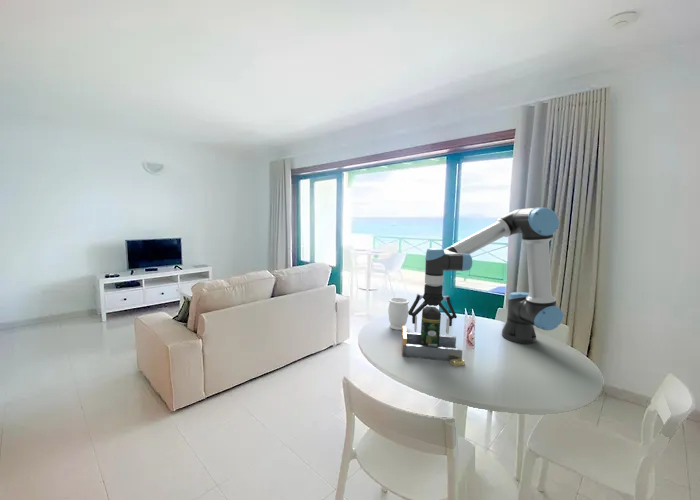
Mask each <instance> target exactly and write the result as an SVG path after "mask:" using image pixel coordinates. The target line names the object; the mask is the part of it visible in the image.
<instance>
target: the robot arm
mask: <svg viewBox="0 0 700 500" xmlns="http://www.w3.org/2000/svg"><path fill="white" fill-rule="evenodd" d="M559 226H560V220H559V216H558V214H557V213H556V212H555V211H554V210H552V208H549V207H541V206H540V207H539V206H538V207H522V208H518V209H517V208H516V209H515V210H513V211H510V212H509V213H507V214H504V215H503V216H501V217H499V218H497V219H496V220H495V223H492V224H490V225H489V226H486V227H485V228H482V229H481V230H479V231H477V232H475V233H473V234H471V235H469V236H467V237H465V238H463V239H462V240H460V241H458V242H455V243H454V244H452V245H450V246H448V247H446V248H441V247H440V248H439V247H438V248H437V247H436V248H435V247H430V248H427V249H426V253H425V268H424V270H425V271H424V272H425V273H424V288H423V289H424V290H423V292H424V293H423V294H420V293H417V294H416V298H415V299H414V301H413V303H412V304H411V307H410V308H409V312H408V316H412V317H411V323H412V324H414V327H413V328H414V333H417V331H418V330H417V328H418V327H417V326H418V325H417V324H418V316H417V315H419V313H420V312H421V311H422V310H423V308H425V307H427V306H428V307H438V306H439V308H440V309H441V310H442V311H443V312H444V314H445V315H446V321H445V322H446V323H445V325H446V326H445V333H446V335H449V334H450V327H452V325H453V319H457V314H456V312H455V310H454V307H453V306H452V303H451V297H450V296H449V295H448V294H447V295H443V290H444V289H443V287H444V286H443V283H444V272H446V271H447V272H448V271H451V272H455V271H456V272H458V271H459V272H464V271H465V272H466V271H467V272H468V271H469V270H471V269H472V267H473V258H472V255H471V254H473V253H475V252H477V251H479V250H481V249H482V248H484V247H486V246H488V245H490V244H492V243H495V242H496V241H498V240H500V239H502V238H503V237H504V238H508V237H510V236H512V235H516V234H521V239H522V241H523V242H525V245H526V257H527V258H526V259H527V260H526V263H527V277H528V292H525V291H524V292H523V291H514V292H513V291H511V292H510V293H509V295H508V300H507V301H508V302H507V303H508V304H507V315H506V322H505V324H504V326H503V328H502V330H501V336H502V337H503V338H505V339H506V340H508V341H511V342H515V343H518V344H526V345H528V344H535V343H536V342H537V333H536V330H535V327H536V329H541V330H542V331H553V330H555V329H556V328H558V327H559V326H560V325H561V324H562V322H563V319H564V313H563V310H562V308H561V307H559V306H557V298H556V297H555V296H553V293H552V278H551V277H552V275H551V273H552V272H551V256H550V254H551V251H550V242H551V241H552V239H553V238H554V234H555V233H556V232H557V229H559ZM422 299H423V302H422V303H421V304H420V305H419V306H418V304H419V302H420V301H421V300H422ZM443 300H444V301H445V302H446V303H447V306H448V308H449V310H450V312H451V313H450V312H449V311H448V310H447V308H446V307H445V306H444V305H443V303H442V302H443ZM417 306H418V307H417ZM416 307H417V308H416ZM534 326H535V327H534Z"/></svg>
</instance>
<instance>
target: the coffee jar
mask: <svg viewBox="0 0 700 500" xmlns="http://www.w3.org/2000/svg"><path fill="white" fill-rule="evenodd" d="M421 311H422V312H421V324H420V327H421V329H420V334H421V345H424V346H435V347H439V339H440V335H441V319H442V318H441V317H442V313H441V311H440V309H438V308H437V306H429V305H426V306H425V307H424V308H423V309H422V310H421Z"/></svg>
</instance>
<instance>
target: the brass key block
mask: <svg viewBox="0 0 700 500" xmlns="http://www.w3.org/2000/svg"><path fill="white" fill-rule="evenodd" d="M465 362H466V360H464V359H463V358H462V359H461V358H458V359H452V360H450V362H449V364H450V365H451V366H452V367H461V366H464V365H465ZM465 366H466V365H465Z"/></svg>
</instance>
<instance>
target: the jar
mask: <svg viewBox="0 0 700 500" xmlns="http://www.w3.org/2000/svg"><path fill="white" fill-rule="evenodd" d="M388 302H389V303H388V304H389V305H388V309H387V311H388V321H389V323H390V325H389V328H390V329H393V330H397V331H402V330H403V326H406V325H407V322H408V317H409V313H408V312H409V310H410V308H409V303H410V300H409V299H406V298H404V297H391V298H389V299H388Z"/></svg>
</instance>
